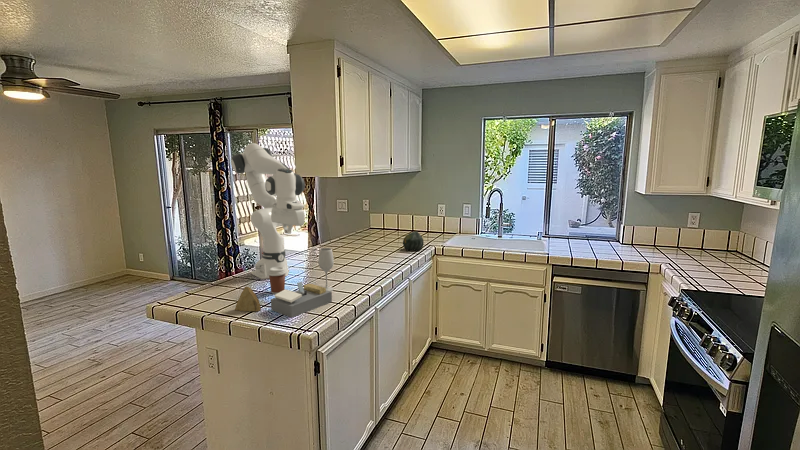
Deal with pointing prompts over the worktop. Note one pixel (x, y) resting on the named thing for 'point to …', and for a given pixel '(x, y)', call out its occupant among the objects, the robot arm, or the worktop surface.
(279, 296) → the white slab
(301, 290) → the paddle
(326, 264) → the wineglass
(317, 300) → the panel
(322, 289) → the gold rectangular block
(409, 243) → the squash
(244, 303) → the rock
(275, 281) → the coffee cup
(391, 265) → the worktop surface
